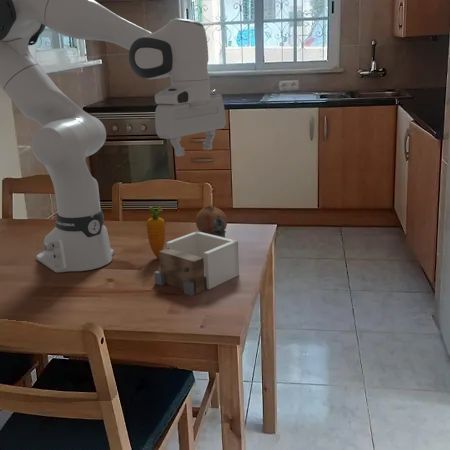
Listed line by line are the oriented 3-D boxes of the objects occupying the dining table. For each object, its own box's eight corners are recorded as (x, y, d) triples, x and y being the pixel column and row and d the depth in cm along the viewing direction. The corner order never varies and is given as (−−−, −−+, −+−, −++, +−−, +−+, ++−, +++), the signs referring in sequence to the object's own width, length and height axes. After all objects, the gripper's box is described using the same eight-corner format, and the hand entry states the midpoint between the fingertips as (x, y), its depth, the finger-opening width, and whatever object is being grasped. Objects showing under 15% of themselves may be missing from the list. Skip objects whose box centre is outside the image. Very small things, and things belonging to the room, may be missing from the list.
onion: (198, 232, 181) (196, 201, 178) (228, 231, 180) (227, 200, 177) (195, 242, 172) (193, 209, 169) (227, 241, 171) (225, 208, 168)
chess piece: (230, 253, 161) (229, 211, 158) (231, 261, 156) (230, 218, 152) (209, 254, 161) (207, 213, 158) (209, 262, 156) (207, 219, 152)
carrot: (164, 253, 163) (160, 201, 159) (169, 259, 159) (165, 206, 154) (147, 256, 162) (142, 204, 157) (151, 262, 157) (147, 208, 153)
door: (159, 282, 144) (156, 252, 141) (170, 278, 146) (167, 248, 144) (194, 294, 136) (192, 262, 134) (205, 289, 139) (203, 257, 136)
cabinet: (152, 282, 144) (150, 248, 141) (198, 263, 155) (196, 231, 152) (193, 296, 135) (191, 260, 132) (239, 274, 146) (237, 240, 144)
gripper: (211, 89, 144) (213, 145, 148) (148, 96, 129) (153, 158, 133) (230, 89, 140) (232, 147, 144) (168, 97, 125) (172, 161, 129)
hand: (194, 152), depth 138 cm, fingers open, 8 cm apart
